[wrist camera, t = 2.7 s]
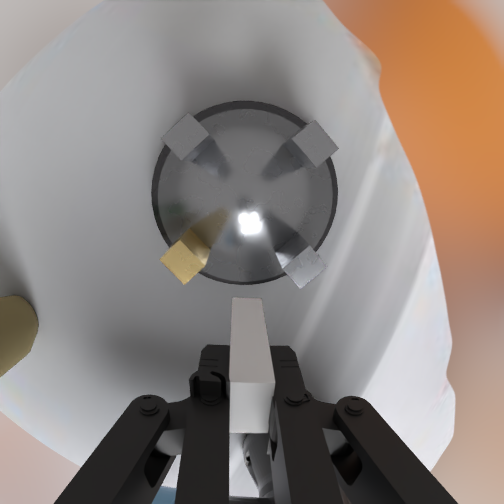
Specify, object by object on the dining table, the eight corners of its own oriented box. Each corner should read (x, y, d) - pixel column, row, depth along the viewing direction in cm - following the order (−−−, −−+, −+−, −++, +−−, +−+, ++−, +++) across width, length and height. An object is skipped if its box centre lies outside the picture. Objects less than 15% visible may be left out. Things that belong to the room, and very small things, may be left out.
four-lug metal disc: (355, 202, 25) (386, 213, 19) (240, 302, 27) (240, 337, 21) (251, 82, 22) (255, 57, 16) (132, 192, 24) (104, 200, 18)
